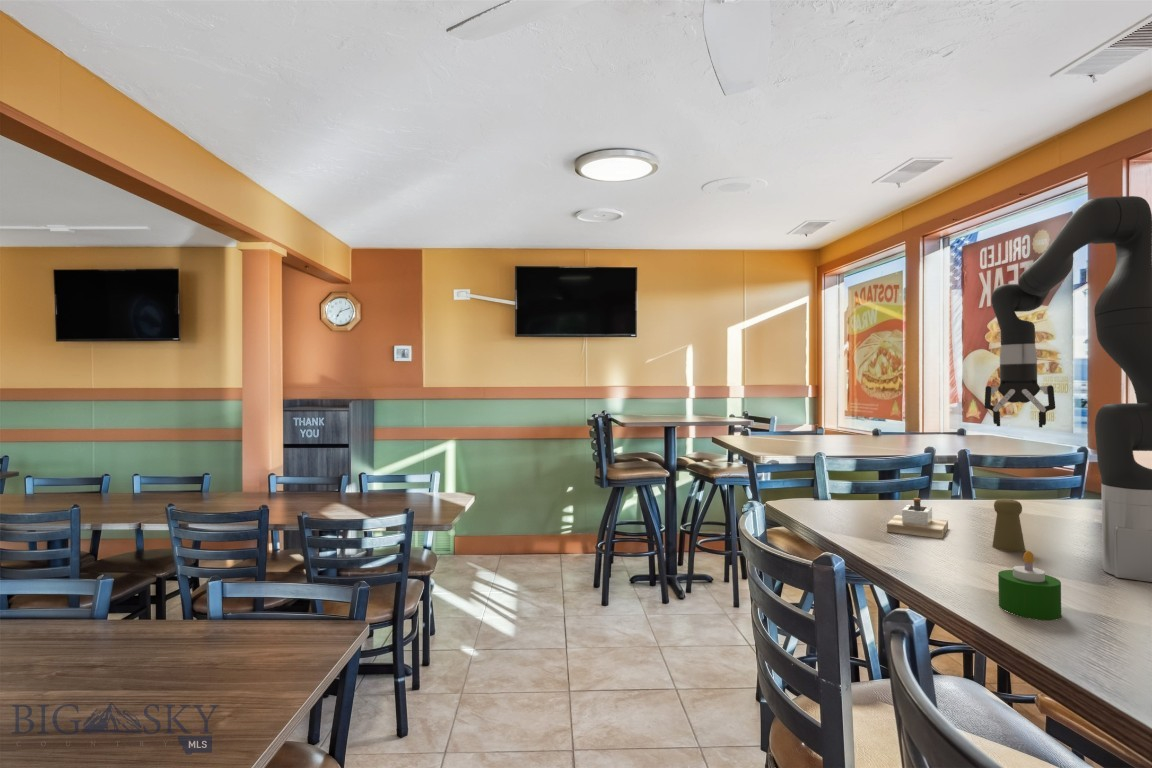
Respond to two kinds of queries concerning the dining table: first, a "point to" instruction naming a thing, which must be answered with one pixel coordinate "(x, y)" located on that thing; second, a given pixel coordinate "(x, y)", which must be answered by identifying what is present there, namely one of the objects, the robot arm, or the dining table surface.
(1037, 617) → the candle
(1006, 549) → the cork
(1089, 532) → the dining table surface
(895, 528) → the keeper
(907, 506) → the white hollow block
